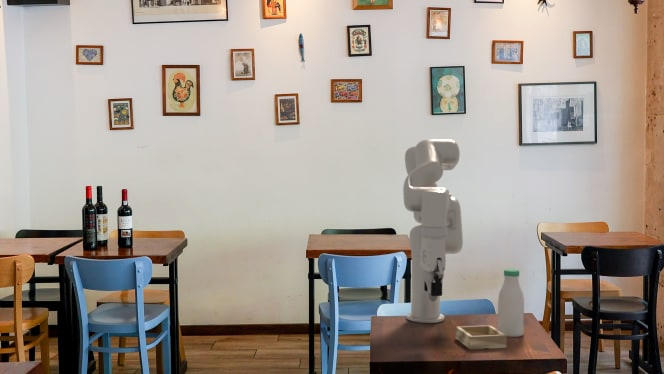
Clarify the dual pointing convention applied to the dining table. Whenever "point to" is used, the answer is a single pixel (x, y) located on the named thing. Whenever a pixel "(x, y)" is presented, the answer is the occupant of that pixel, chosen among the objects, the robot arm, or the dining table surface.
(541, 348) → the dining table surface
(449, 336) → the dining table surface
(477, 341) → the holder
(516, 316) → the milk bottle
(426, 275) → the lightbulb
